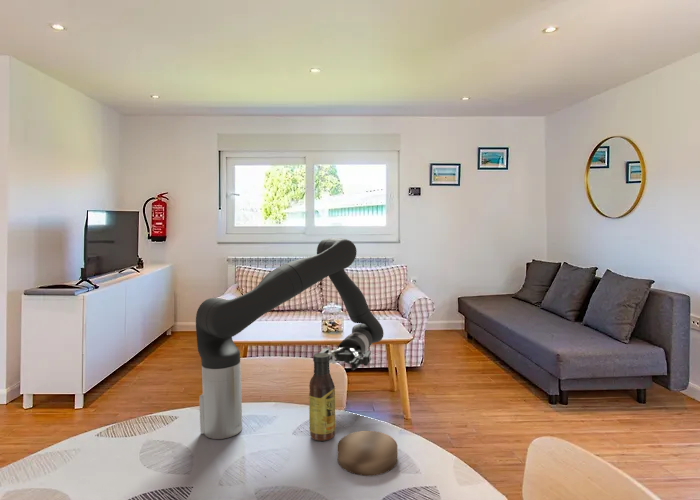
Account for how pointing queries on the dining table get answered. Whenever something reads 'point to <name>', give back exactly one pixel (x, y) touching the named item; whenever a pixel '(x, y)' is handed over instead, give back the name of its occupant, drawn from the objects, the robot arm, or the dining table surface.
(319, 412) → the sauce bottle
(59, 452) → the dining table surface
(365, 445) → the tan flat disc
